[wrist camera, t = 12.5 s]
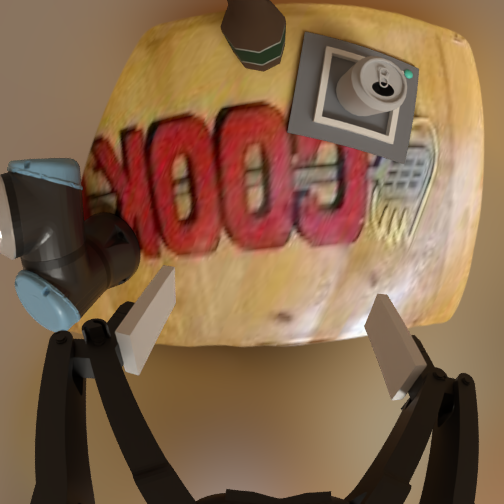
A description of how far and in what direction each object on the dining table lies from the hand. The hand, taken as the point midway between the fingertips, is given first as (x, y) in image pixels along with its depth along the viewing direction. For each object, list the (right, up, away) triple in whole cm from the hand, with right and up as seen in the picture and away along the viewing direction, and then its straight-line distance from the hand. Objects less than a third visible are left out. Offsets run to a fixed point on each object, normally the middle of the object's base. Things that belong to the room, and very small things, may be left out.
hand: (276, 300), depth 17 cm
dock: (+15, +28, +19) cm, 37 cm away
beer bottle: (0, +34, +17) cm, 39 cm away
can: (+15, +27, +18) cm, 36 cm away
